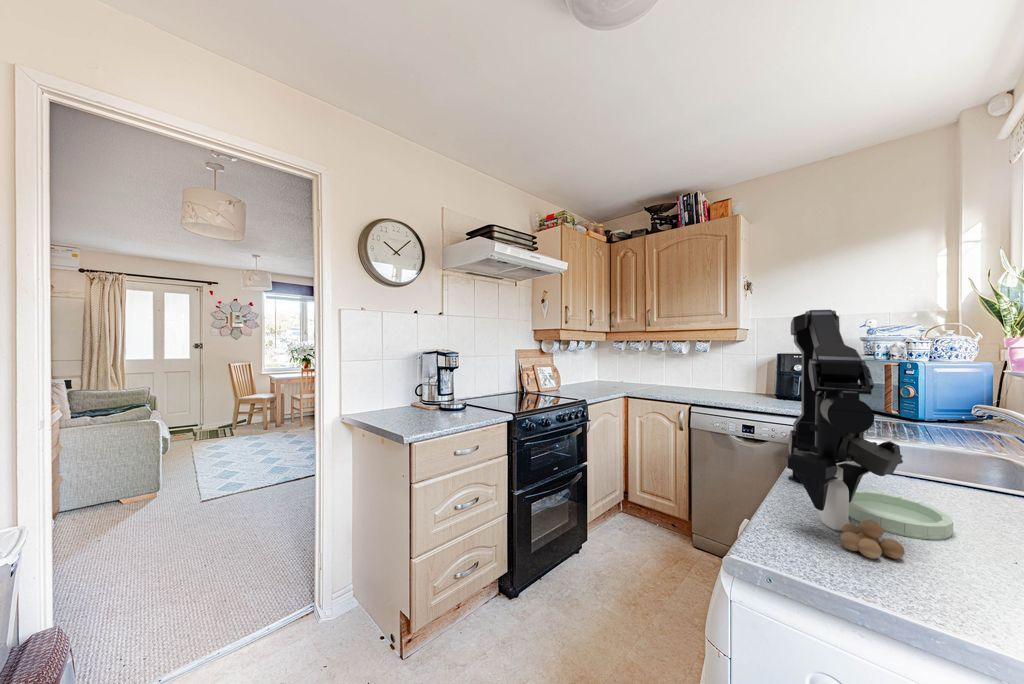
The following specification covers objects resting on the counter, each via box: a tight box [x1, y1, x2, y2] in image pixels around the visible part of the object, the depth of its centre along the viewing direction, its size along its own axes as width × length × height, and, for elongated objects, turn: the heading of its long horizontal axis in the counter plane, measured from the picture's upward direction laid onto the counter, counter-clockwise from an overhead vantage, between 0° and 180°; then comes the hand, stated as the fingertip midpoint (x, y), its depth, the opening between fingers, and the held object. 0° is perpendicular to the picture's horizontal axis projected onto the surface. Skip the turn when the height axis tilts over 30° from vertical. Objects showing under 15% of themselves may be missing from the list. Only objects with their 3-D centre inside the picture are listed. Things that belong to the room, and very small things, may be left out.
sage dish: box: [849, 489, 954, 541], centre depth 71 cm, size 15×15×2 cm
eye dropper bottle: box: [818, 465, 850, 532], centre depth 69 cm, size 4×6×12 cm
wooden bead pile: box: [839, 520, 905, 560], centre depth 61 cm, size 8×6×5 cm
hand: (833, 505), depth 69 cm, fingers closed on eye dropper bottle, 8 cm apart
